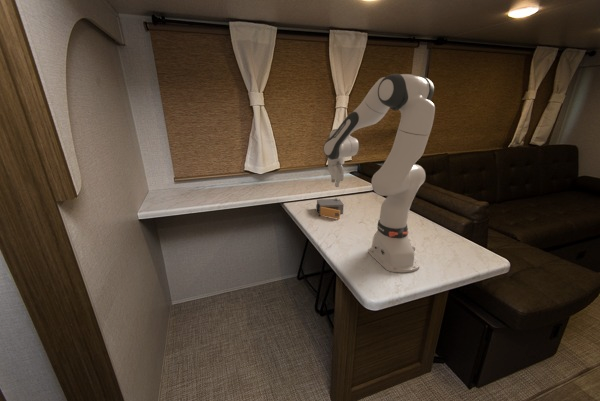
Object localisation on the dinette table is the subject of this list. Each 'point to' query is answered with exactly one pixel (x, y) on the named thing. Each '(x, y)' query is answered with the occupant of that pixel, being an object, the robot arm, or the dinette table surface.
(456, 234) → the dinette table surface
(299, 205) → the dinette table surface
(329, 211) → the side door
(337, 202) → the camera block
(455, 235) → the dinette table surface
